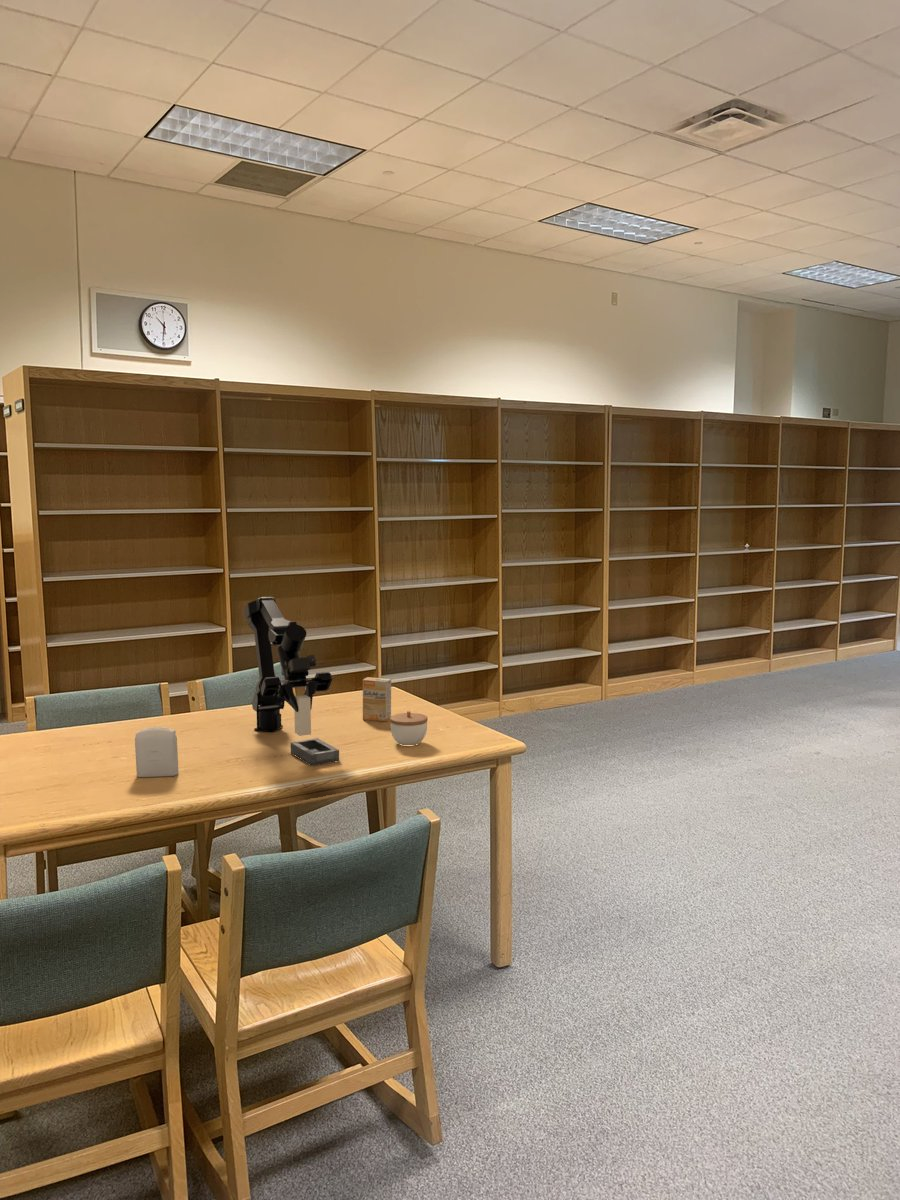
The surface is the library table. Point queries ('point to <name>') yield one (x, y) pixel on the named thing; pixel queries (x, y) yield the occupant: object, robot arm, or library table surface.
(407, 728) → the lidded jar
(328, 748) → the grey rectangular tray
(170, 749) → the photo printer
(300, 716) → the pale grey rectangular block
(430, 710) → the library table surface
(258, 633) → the robot arm
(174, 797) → the library table surface
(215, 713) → the library table surface
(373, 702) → the supplement box
